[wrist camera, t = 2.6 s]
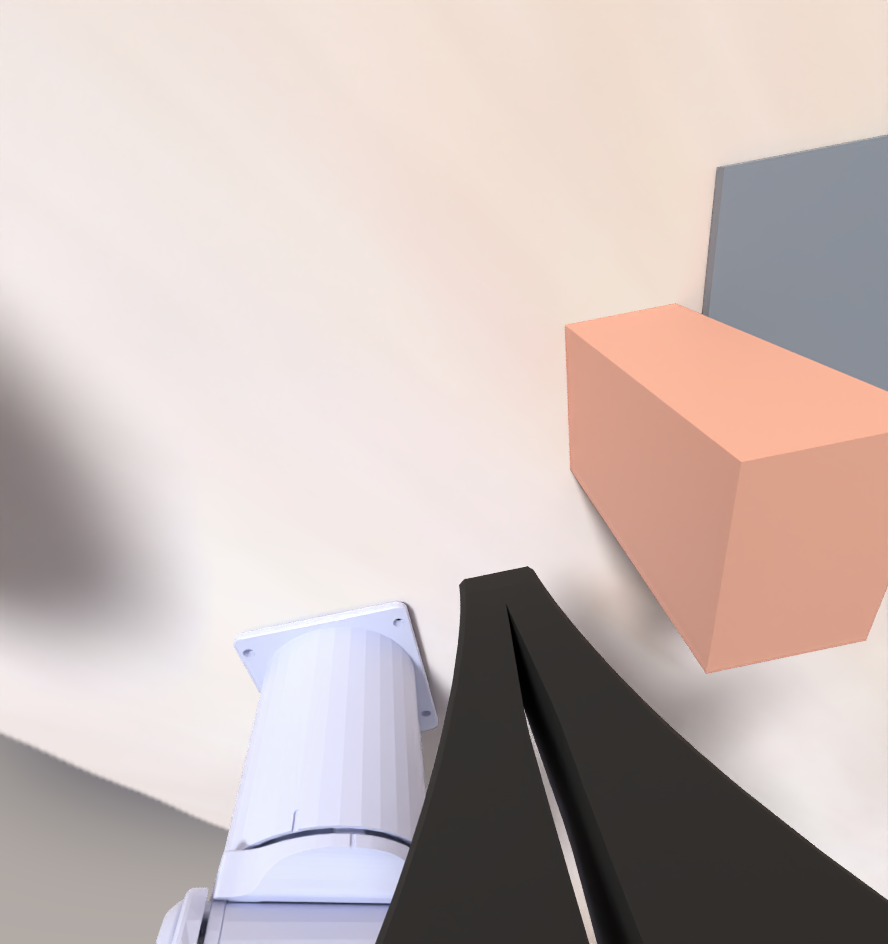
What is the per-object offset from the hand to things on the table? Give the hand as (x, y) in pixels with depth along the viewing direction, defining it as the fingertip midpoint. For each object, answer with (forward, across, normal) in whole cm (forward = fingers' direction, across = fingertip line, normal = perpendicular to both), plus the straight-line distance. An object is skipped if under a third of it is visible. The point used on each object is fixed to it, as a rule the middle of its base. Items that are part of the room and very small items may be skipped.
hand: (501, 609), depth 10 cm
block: (+10, -7, +1) cm, 12 cm away
